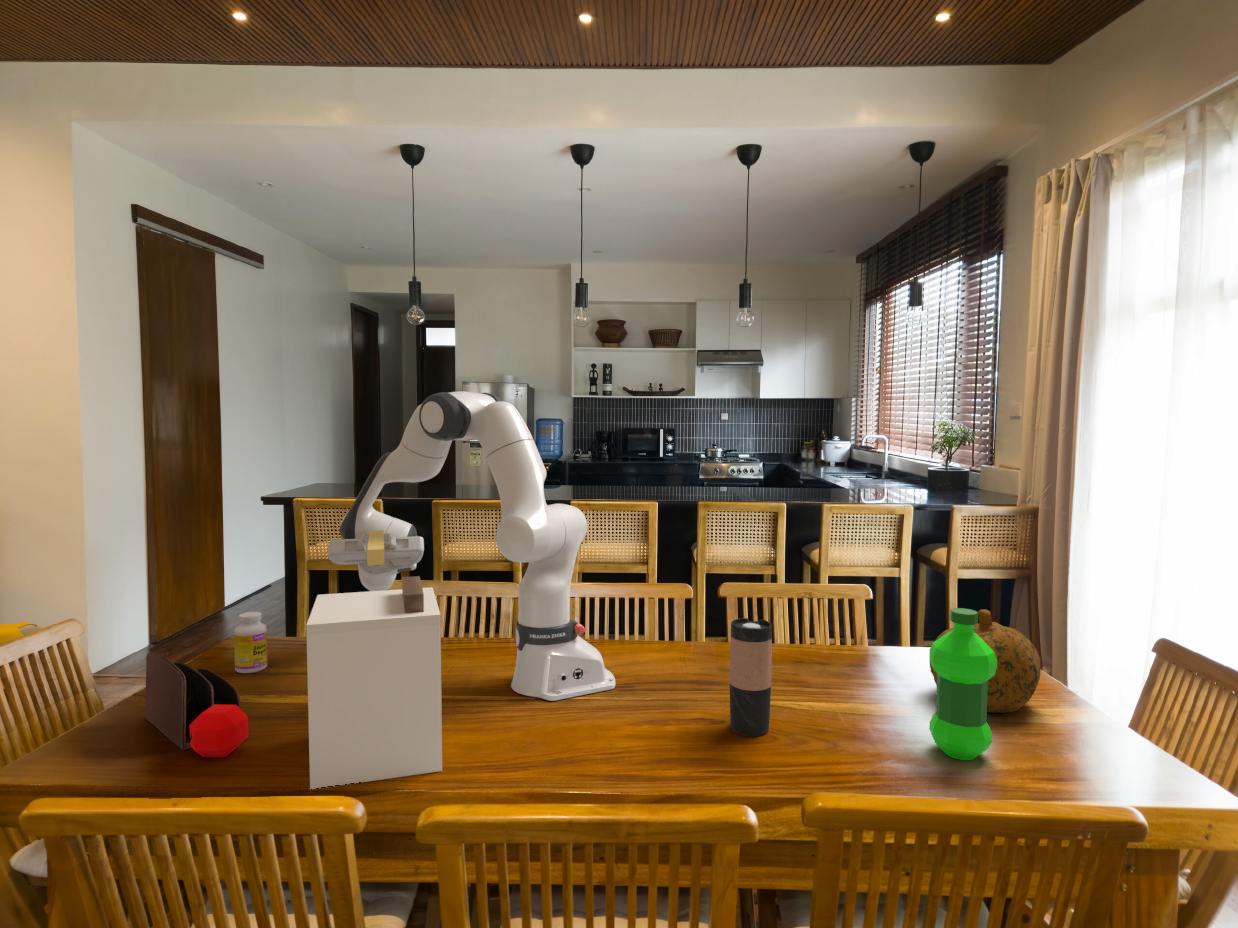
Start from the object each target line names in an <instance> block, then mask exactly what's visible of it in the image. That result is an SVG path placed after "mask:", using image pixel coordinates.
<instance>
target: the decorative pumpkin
mask: <svg viewBox="0 0 1238 928" xmlns="http://www.w3.org/2000/svg"><path fill="white" fill-rule="evenodd" d="M977 613H978V624H975V625H974V632H975V633H976V634H977V635H978V636H979V637H980V638H981V639H982V640H983V641H984V642H985V643H986V644H987V645H988V646H989V647H990V648H991V649H992V650H993V651H994V653H995V655H996V658H997V669H996V672H995V675H994V676H993V677H992V678H990V679H989V680H988V689H987V713H1005V714H1007V713H1011V712H1017V711H1018V710H1019V709H1021V708H1022V707H1024V706H1025V705H1026V704H1028V703H1029V701H1030V700H1031V698H1032V697H1033V696H1034V694H1035V692H1036V689H1037V688H1038V685H1039V683H1040V678H1041V658H1040V655H1039V652H1038V650H1037V648H1036V647H1035V645H1034V644H1033V642H1032V641H1031V640H1030V639H1029V638H1028V637H1027V636H1026V635H1025V634H1023V633H1022V632H1021V631H1020V630H1018V629H1015V628H1013V627H1009V626H1006V625H1005V626H1003V625H1002V624H1000V623H998V622H996V621H992V615H991V610H988V609H983V608H981V609H979V610H978V611H977ZM952 630H953V627H951V628H948V629H946V630H944V631H942V632H941V633H940V634H939V635H938V636H937V638H936V639H935V641H936V640H938V639H939V638H941V637H942V636H943V635H945V634H947V633H948V632H950V631H952ZM935 641H934V642H935ZM929 669H930V672H931V675H932V677H933V680H934V683H935V685H936V686H937V673H936V672H935V670H934V669H933V667H932V665H931V662H930V661H929Z"/></svg>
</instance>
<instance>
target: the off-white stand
mask: <svg viewBox="0 0 1238 928" xmlns="http://www.w3.org/2000/svg"><path fill="white" fill-rule="evenodd" d="M422 589H423V594H424V612H416V613H405V612H404V603H403V593H402V588H401V589H399V588H398V589H387V590H383V591H370V590H367V591H356V592H354V591H353V592H343V593H341V592H339V593H325V594H324V593H323V594H317V595H316V598H315V601H314V604H313V607H312V608H311V611H310V614H309V617H308V619H307V621H306V622H307V623H306V624H305V625H306V663H307V665H306V667H307V668H306V669H307V705H308V706H307V707H308V708H307V710H308V711H307V714H308V718H307V719H308V749H309V750H308V751H309V755H308V756H309V758H308V759H309V761H308V762H309V790H310V791H311V789H312V790H317V789H316V788H319V789H322V788H321V787H326V788H328V787H327V786H333V787H336V786H335V785H340V786H346V785H345V784H347V785H351V784H350V783H354V784H359V782H361V783H366V782H367V783H368V782H373V781H375V782H376V781H381V780H387V779H395V778H396V779H397V778H401V777H410V776H417V775H423V774H430V773H436V772H443V727H442V726H443V724H442V723H443V719H442V717H443V715H442V714H443V713H442V712H443V711H442V708H443V707H442V705H443V704H442V643H441V642H442V638H441V637H442V636H441V635H442V633H441V632H442V631H441V627H442V625H441V624H442V623H441V622H442V621H441V620H442V619H441V616H442V615H441V611H440V607H439V605H438V601H437V598H436V595H435V592H434V588H433V587H432V586H431V587H422Z"/></svg>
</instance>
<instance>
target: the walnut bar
mask: <svg viewBox="0 0 1238 928" xmlns="http://www.w3.org/2000/svg"><path fill="white" fill-rule="evenodd" d="M401 579H402V581H401V584H402V587H401V589H402V593H403V603H404V612H405V613H416V612H424V594H423V589H422V588H423V586H422V581H421V577H420V575H418V576H417V575H415V576H401Z"/></svg>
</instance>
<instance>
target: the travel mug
mask: <svg viewBox="0 0 1238 928" xmlns="http://www.w3.org/2000/svg"><path fill="white" fill-rule="evenodd" d="M772 626H773V625H772V623H771V622H770V621H768V620H765V619H759V620H755V621H754V620H753V621H752V620H749V619H748V618H746V617H740V618H735V619H733V620H732V621H731V622H730V646H729V648H730V649H729V650H730V651H729V653H730V654H729V658H730V659H729V719H730V720H729V721H730V722H729V725H730V729H731V730H732V732H733V733H736V734H738V735H740V736H745V737H760V736H765V735H766V734H768V732H769V730H770V717H771V715H770V714H771V700H772V699H771V695H772V653H773V652H772V648H773V647H772V646H773V645H772V643H773V642H772V640H773V639H772V637H773V634H772V633H773V632H772V628H773V627H772Z"/></svg>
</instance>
